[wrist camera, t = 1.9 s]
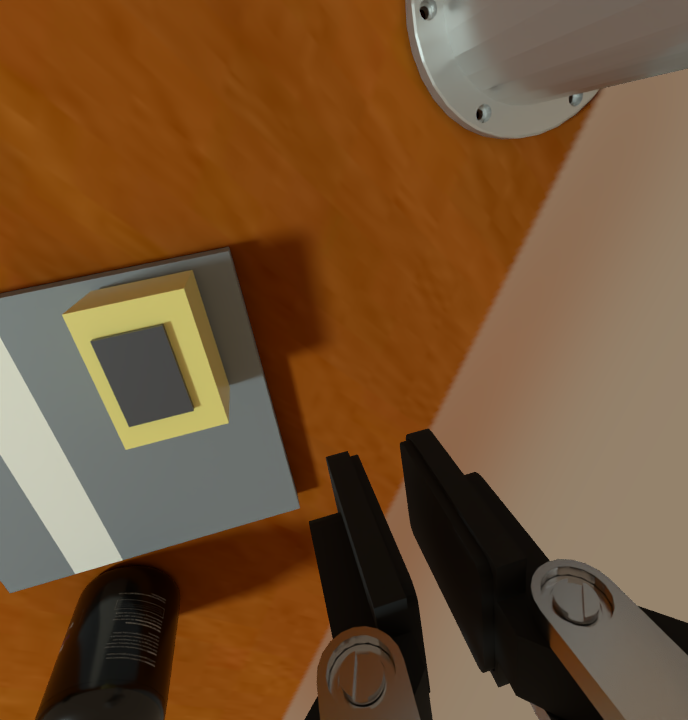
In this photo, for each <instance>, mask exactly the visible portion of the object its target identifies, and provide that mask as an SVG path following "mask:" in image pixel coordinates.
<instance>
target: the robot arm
mask: <svg viewBox="0 0 688 720" xmlns="http://www.w3.org/2000/svg"><path fill="white" fill-rule="evenodd" d="M420 9H421V10H423V11H424V12H425V15H426V16H425V20H424V19H423V18H422V17H421V14H420ZM406 22H407V29H408V35H409V40H410V45H411V50H412V54H413V57H414V60H415V62H416V65H417V68H418V70H419V73H420V76H421V78H422V80H423V82H424V84H425V85H426V87H427V89H428V90H429V92H430V94H431V96H432V97H433V99H434V100H435V101H436V103H437V104H438V105H439V106H440V107H441V108H442V109H443V111H444V112H445V113H446V114H447V115H448V116H449V117H450V118H452V119H453V120H454V121H456V122H457V123H458V124H460V125H461V126H462V127H464V128H465V129H467V130H470V131H472V132H474V133H477V134H479V135H481V136H485V137H491V138H497V139H514V138H523V137H528V136H533V135H539V134H541V133H543V132H546V131H548V130H550V129H553V128H555V127H558V126H559V125H561V124H562V123H564V122H565V121H566V120H568V119H569V118H571V117H572V116H574V115H575V114H577V113H578V112H579V111H580V110H581V109H582V108H583V107H584V106H585V105H586V104H587V103H588V102H589V101H590V100H591V99H592V98H593V97H594V96H595V94H596V93H597V92H598V91H599V89H601V88H606V87H610V86H614V85H619V84H623V83H627V82H631V81H636V80H640V79H644V78H648V77H653V76H657V75H662V74H666V73H670V72H675V71H679V70H683V69H688V0H406ZM477 111H478V112H479V118H478V119H477V117H476V112H477ZM400 450H401V458H402V465H403V473H404V481H405V488H406V495H407V503H408V511H409V518H410V524H411V528H412V531H413V534H414V536H415V538H416V540H417V542H418V544H419V546H420V549H421V551H422V553H423V555H424V557H425V559H426V561H427V563H428V565H429V567H430V569H431V571H432V573H433V575H434V577H435V579H436V581H437V583H438V585H439V588H440V589H441V592H442V594H443V595H444V598H445V600H446V602H447V604H448V606H449V608H450V610H451V612H452V614H453V616H454V618H455V620H456V622H457V624H458V626H459V628H460V630H461V632H462V635H463V637H464V639H465V641H466V643H467V645H468V647H469V649H470V651H471V653H472V655H473V657H474V659H475V661H476V663H477V665H478V667H479V669H480V670H481V672H483V673H484V672H487V671H490V672H491V674H492V676H493V678H494V680H495V682H496V684H497V686H498V687H501V686H504V685H506V684H509V683H510V685H511V687H512V689H513V691H514V692H515V694H516V696H518V697H520V698H522V699H524V700H526V701H528V702H530V703H531V705H532V707H533V709H534V712H535V714H536V715H537V717H538V719H539V720H688V623H686V622H683V621H680V620H677V619H674V618H672V617H669V616H666V615H663V614H660V613H657V612H654V611H651V610H648V609H645V608H642V607H639V606H637V605H636V604H635V603H634V602H633V601H632V600H631V599H630V598H629V597H628V596H627V595H625V593H624V592H623V591H621V589H620V588H619V587H618V586H617V585H616V584H615V583H614V582H612V581H611V580H610V579H609V578H608V577H607V576H605V575H604V574H603V573H601V572H600V571H599V570H597V569H595V568H593V567H591V566H589V565H587V564H585V563H582V562H578V561H574V560H566V559H565V560H564V559H557V560H554V561H549V559H548V558H547V557H546V556H545V554H544V553H543V552H542V551H541V549H540V548H539V547H538V546H537V544H536V543H535V542H534V541H533V539H532V538H531V537H530V536H529V534H528V533H527V532H526V531H525V530H524V528H523V527H522V526H521V525H520V523H519V522H518V521H517V520H516V518H515V517H514V516H513V515H512V513H511V512H510V511H509V510H508V508H507V507H506V506H505V505H504V504H503V502H502V501H501V500H500V499H499V497H498V496H497V495H496V494H495V492H494V491H493V490H492V489H491V487H490V486H489V485H488V484H487V482H486V481H485V480H484V479H483V478H482V477H481V476H480V475H479V474H478V473H476V472H473V473H470V474H466V475H464V474H463V473H462V472H461V470H460V469H459V468H458V466H457V465H456V464H455V462H454V461H453V460H452V458H451V457H450V456H449V454H448V453H447V452H446V450H445V449H444V448H443V446H442V445H441V444H440V442H439V441H438V440H437V438H436V437H435V436H434V434H433V433H432V432H431V431H430V430H429V429H425V430H421V431H417V432H414V433H410V434H407V435H406V441H404V442H401V443H400ZM326 461H327V466H328V470H329V474H330V479H331V483H332V488H333V492H334V496H335V501H336V505H337V510H338V513H336V514H332V515H329V516H326V517H322V518H319V519H316V520H312V521H309V525H310V530H311V535H312V540H313V545H314V550H315V555H316V559H317V564H318V569H319V574H320V579H321V584H322V589H323V593H324V598H325V603H326V608H327V613H328V618H329V622H330V627H331V632H332V637H333V640H332V641H330V643H329V644H328V646H327V647H326V649H325V650H324V652H323V653H322V656H321V659H320V662H319V665H318V670H317V691H318V697H317V699H316V700H315V702H314V704H313V705H312V707H311V709H310V711H309V713H308V714H307V716H306V718H305V720H433V719H432V713H431V705H430V698H429V693H430V686H429V678H428V671H427V664H426V656H425V649H424V642H423V635H422V627H421V620H420V613H419V605H418V600H417V596H416V592H415V589H414V586H413V583H412V580H411V578H410V575H409V573H408V571H407V568H406V566H405V563H404V561H403V559H402V556H401V554H400V552H399V550H398V547H397V545H396V542H395V540H394V538H393V536H392V533H391V531H390V528H389V526H388V524H387V521H386V519H385V517H384V514H383V512H382V510H381V507H380V505H379V503H378V501H377V498H376V496H375V494H374V491H373V489H372V487H371V484H370V482H369V480H368V477H367V475H366V473H365V470H364V468H363V466H362V463H361V461H360V459H359V456H358V455H354V456H351V457H350V455H349V453H348V451H346V452H342V453H339V454H335V455H331V456H328V457H326Z"/></svg>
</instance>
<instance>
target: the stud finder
mask: <svg viewBox="0 0 688 720" xmlns="http://www.w3.org/2000/svg"><path fill="white" fill-rule="evenodd" d="M62 316H63V318H64V320H65V323H66V325H67V327H68V329H69V331H70V333H71V335H72V337H73V340H74V342H75V344H76V346H77V348H78V350H79V352H80V354H81V356H82V359H83V361H84V363H85V365H86V367H87V369H88V371H89V373H90V376H91V378H92V380H93V382H94V384H95V386H96V388H97V390H98V392H99V395H100V397H101V399H102V401H103V403H104V405H105V407H106V409H107V412H108V414H109V416H110V418H111V420H112V422H113V424H114V426H115V428H116V431H117V433H118V435H119V437H120V439H121V441H122V443H123V445H124V448H125V450H128V449H131V448H135V447H139V446H143V445H147V444H151V443H154V442H158V441H162V440H166V439H170V438H174V437H177V436H181V435H185V434H189V433H193V432H197V431H201V430H204V429H208V428H212V427H216V426H220V425H224V424H227V423H229V401H230V386H229V383H228V380H227V377H226V374H225V370H224V367H223V364H222V361H221V358H220V355H219V352H218V348H217V345H216V342H215V339H214V336H213V333H212V330H211V326H210V323H209V320H208V317H207V314H206V311H205V308H204V305H203V301H202V298H201V295H200V292H199V289H198V286H197V283H196V279H195V276H194V273H193V270H189V271H184V272H179V273H175V274H170V275H165V276H160V277H156V278H151V279H146V280H141V281H136V282H132V283H127V284H122V285H117V286H113V287H108V288H103V289H98V290H94V291H90V292H89V293H88V294H87V295H85V296H84V297H83V298H82V299H81V300H79V301H78V302H77V303H76V304H74V305H73V306H72V307H71V308H69V309H68V310H67V311H66V312H64V313H63V314H62Z"/></svg>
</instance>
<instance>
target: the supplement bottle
mask: <svg viewBox="0 0 688 720" xmlns="http://www.w3.org/2000/svg"><path fill="white" fill-rule="evenodd" d="M179 606H180V593H179V589H178V587H177V585H176V583H175V582H174V581H173V579H172V578H170V577H169V576H168V575H167V574H165V573H164V572H162V571H160V570H157V569H154V568H151V567H145V566H125V567H120V568H116V569H113V570H110V571H107V572H105V573H103V574H101V575H100V576H98V577H97V578H95V579H94V580H93V581H91V582H90V583H89V584H88V585H87V586H86V588H85V589H84V590H83V592H82V594H81V596H80V598H79V601H78V603H77V606H76V608H75V611H74V613H73V616H72V619H71V622H70V624H69V627H68V630H67V633H66V635H65V638H64V641H63V644H62V646H61V649H60V652H59V655H58V657H57V660H56V663H55V666H54V668H53V671H52V674H51V677H50V679H49V682H48V685H47V688H46V690H45V693H44V696H43V699H42V701H41V704H40V707H39V710H38V713H37V715H36V719H35V720H164V719H165V714H166V707H167V700H168V692H169V685H170V677H171V669H172V661H173V654H174V646H175V638H176V631H177V623H178V615H179Z"/></svg>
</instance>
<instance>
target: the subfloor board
mask: <svg viewBox="0 0 688 720" xmlns="http://www.w3.org/2000/svg"><path fill="white" fill-rule="evenodd" d="M189 270H193V273H194V276H195V279H196V283H197V286H198V289H199V292H200V295H201V298H202V301H203V305H204V308H205V311H206V314H207V317H208V320H209V323H210V326H211V330H212V333H213V336H214V339H215V342H216V345H217V348H218V352H219V355H220V358H221V361H222V364H223V367H224V370H225V374H226V377H227V380H228V383H229V386H230V401H229V423H227V424H224V425H220V426H216V427H212V428H208V429H204V430H201V431H197V432H193V433H189V434H185V435H181V436H177V437H174V438H170V439H166V440H162V441H158V442H154V443H151V444H147V445H143V446H139V447H135V448H131V449H128V450H125V448H124V445H123V443H122V441H121V439H120V437H119V435H118V433H117V431H116V428H115V426H114V424H113V422H112V420H111V418H110V416H109V414H108V412H107V409H106V407H105V405H104V403H103V401H102V399H101V397H100V395H99V392H98V390H97V388H96V386H95V384H94V382H93V380H92V378H91V376H90V373H89V371H88V369H87V367H86V365H85V363H84V361H83V359H82V356H81V354H80V352H79V350H78V348H77V346H76V344H75V342H74V340H73V337H72V335H71V333H70V331H69V329H68V327H67V325H66V323H65V320H64V318H63V316H62V314H63V313H64V312H66V311H67V310H68V309H69V308H71V307H72V306H73V305H74V304H76V303H77V302H78V301H79V300H81V299H82V298H83V297H84V296H85V295H87V294H88V293H89V292H90V291H94V290H98V289H103V288H108V287H113V286H117V285H122V284H127V283H132V282H136V281H141V280H146V279H151V278H156V277H160V276H165V275H170V274H175V273H179V272H184V271H189ZM298 508H300V506H299V501H298V496H297V491H296V488H295V484H294V480H293V477H292V473H291V470H290V466H289V462H288V459H287V455H286V451H285V448H284V444H283V440H282V437H281V433H280V430H279V426H278V422H277V419H276V415H275V411H274V408H273V404H272V400H271V397H270V393H269V390H268V386H267V382H266V379H265V375H264V371H263V368H262V364H261V361H260V357H259V353H258V350H257V346H256V342H255V339H254V335H253V331H252V328H251V324H250V321H249V317H248V313H247V310H246V306H245V302H244V299H243V295H242V291H241V288H240V284H239V281H238V277H237V273H236V270H235V266H234V262H233V259H232V255H231V251H230V248H229V247H225V248H220V249H215V250H210V251H206V252H201V253H196V254H191V255H186V256H181V257H176V258H171V259H167V260H162V261H157V262H152V263H147V264H142V265H137V266H132V267H127V268H123V269H118V270H113V271H108V272H103V273H98V274H93V275H88V276H84V277H79V278H74V279H69V280H64V281H59V282H54V283H49V284H44V285H40V286H35V287H30V288H25V289H20V290H15V291H10V292H5V293H1V294H0V581H1V582H2V583H3V585H4V586H5V587H6V589H7V590H8V591H9V593H12V592H16V591H19V590H22V589H26V588H29V587H33V586H36V585H40V584H43V583H46V582H50V581H53V580H57V579H60V578H63V577H67V576H70V575H74V574H77V573H80V572H84V571H87V570H91V569H94V568H97V567H101V566H104V565H108V564H111V563H114V562H118V561H121V560H125V559H128V558H132V557H135V556H138V555H142V554H145V553H149V552H152V551H155V550H159V549H162V548H166V547H169V546H172V545H176V544H179V543H183V542H186V541H189V540H193V539H196V538H200V537H203V536H206V535H210V534H213V533H217V532H220V531H224V530H227V529H230V528H234V527H237V526H241V525H244V524H247V523H251V522H254V521H258V520H261V519H264V518H268V517H271V516H275V515H278V514H281V513H285V512H288V511H292V510H295V509H298Z"/></svg>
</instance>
